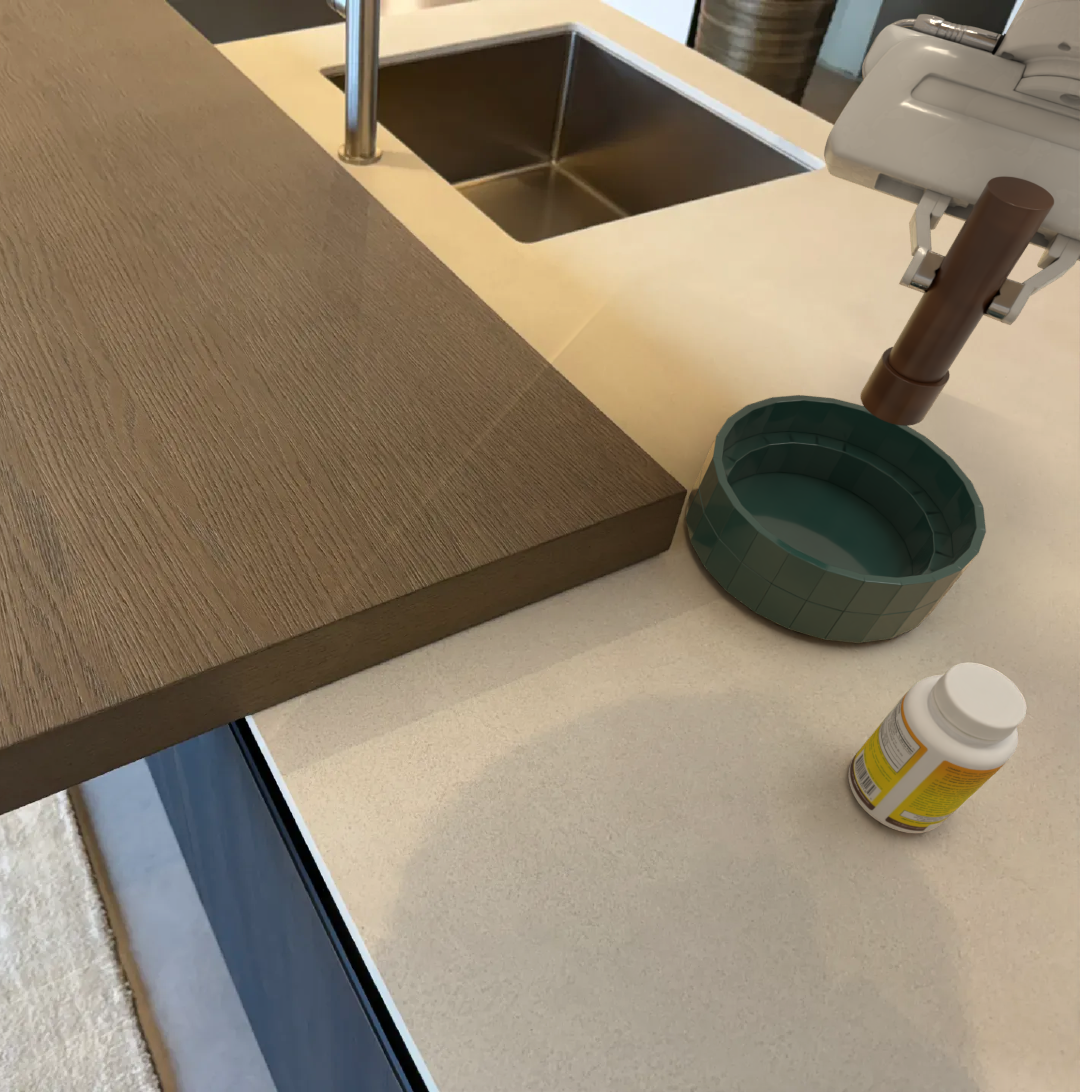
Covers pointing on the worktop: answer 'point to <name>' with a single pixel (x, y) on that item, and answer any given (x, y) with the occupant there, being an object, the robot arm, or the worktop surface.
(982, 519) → the bowl
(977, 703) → the supplement bottle
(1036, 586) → the worktop surface
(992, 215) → the brown flanged cylinder
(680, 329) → the worktop surface
